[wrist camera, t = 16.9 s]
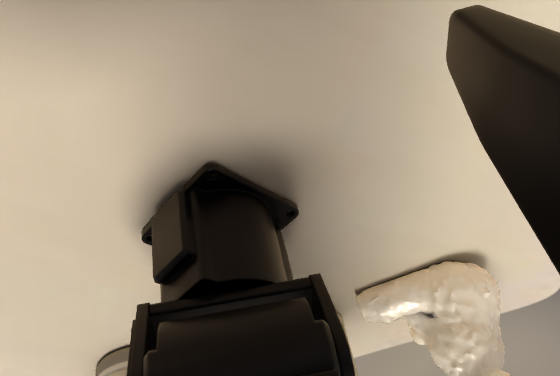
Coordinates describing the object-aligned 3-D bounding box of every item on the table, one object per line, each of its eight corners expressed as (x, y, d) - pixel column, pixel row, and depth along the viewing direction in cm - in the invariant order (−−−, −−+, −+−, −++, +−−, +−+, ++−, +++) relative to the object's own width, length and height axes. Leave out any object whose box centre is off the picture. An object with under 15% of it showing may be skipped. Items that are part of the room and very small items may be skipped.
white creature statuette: (346, 295, 38) (404, 474, 30) (445, 229, 35) (541, 411, 27) (416, 328, 44) (481, 485, 36) (507, 274, 41) (603, 435, 32)
